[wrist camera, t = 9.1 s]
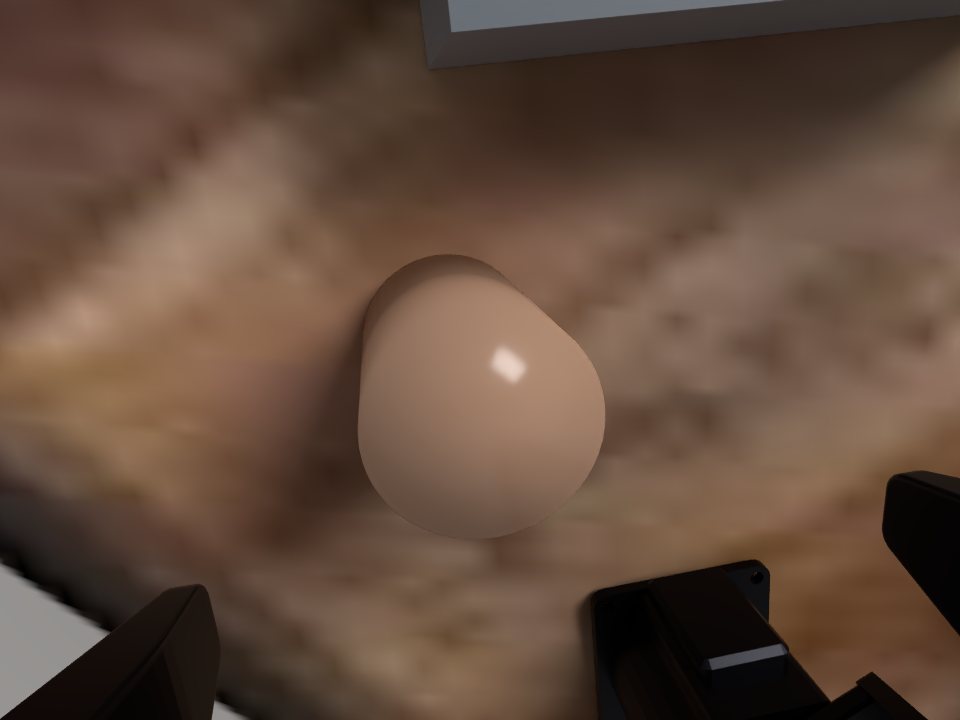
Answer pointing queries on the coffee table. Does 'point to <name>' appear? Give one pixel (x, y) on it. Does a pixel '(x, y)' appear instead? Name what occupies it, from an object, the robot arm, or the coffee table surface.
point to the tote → (634, 24)
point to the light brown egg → (472, 402)
